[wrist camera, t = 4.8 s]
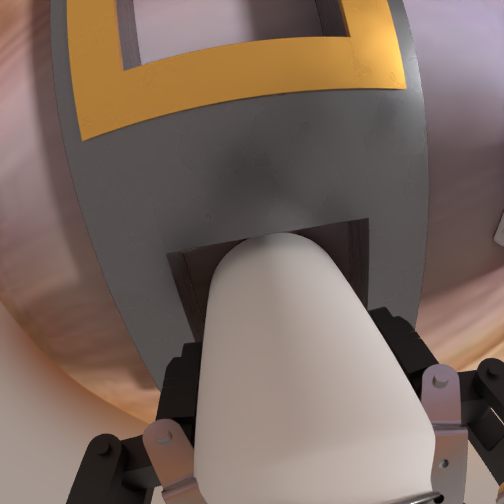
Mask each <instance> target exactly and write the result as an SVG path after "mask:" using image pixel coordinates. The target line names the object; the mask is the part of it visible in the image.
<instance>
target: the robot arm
mask: <svg viewBox="0 0 504 504" xmlns="http://www.w3.org/2000/svg"><path fill="white" fill-rule="evenodd" d="M367 312H368V314H369V315H370V317H371V319H372V320H373V322H374V323H375V325H376V327H377V328H378V330H379V331H380V333H381V335H382V336H383V338H384V340H385V341H386V343H387V345H388V346H389V348H390V350H391V351H392V353H393V355H394V356H395V358H396V360H397V361H398V363H399V365H400V367H401V368H402V370H403V372H404V374H405V375H406V377H407V379H408V381H409V382H410V384H411V386H412V388H413V390H414V391H415V393H416V395H417V397H418V399H419V401H420V403H421V404H422V406H423V408H424V410H425V412H426V414H427V416H428V418H429V420H430V422H431V424H432V427H433V431H434V434H435V451H434V458H433V464H432V470H431V486H432V490H433V492H435V491H438V492H439V493H440V495H441V497H440V498H436V499H432V500H428V501H425V502H422V503H419V504H465V503H463V500H464V492H465V483H466V471H467V454H468V440H469V441H470V443H471V444H472V445H473V447H474V448H475V450H476V451H477V452H478V454H479V455H480V457H481V458H482V460H483V461H484V463H485V465H486V466H487V468H488V469H489V471H490V472H491V474H492V475H493V477H494V478H495V480H496V481H497V483H498V484H499V486H500V488H499V490H498V497H497V499H496V504H504V425H503V424H502V422H501V421H500V420H499V419H498V417H497V416H496V415H495V414H494V412H493V411H492V410H491V408H492V409H493V410H494V411H495V413H496V414H497V415H498V416H499V418H500V419H501V420H502V421H503V423H504V362H502V361H501V360H499V359H496V358H487V359H485V360H483V361H482V362H481V363H480V364H479V366H478V368H477V370H473V371H465V372H456V371H455V370H454V369H453V368H452V367H450V366H448V365H444V364H439V363H438V361H437V360H436V358H435V357H434V356H433V354H432V353H431V351H430V350H429V349H428V347H427V346H426V344H425V343H424V342H423V340H422V339H420V336H419V335H418V333H417V332H415V329H414V328H413V327H412V325H411V324H410V323H409V322H408V321H407V320H405V319H404V318H402V317H400V316H395V317H393V316H392V314H391V313H390V312H389V310H388V309H387V308H386V307H380V308H376V309H372V310H368V311H367ZM202 348H203V341H199V342H191V343H184V345H183V349H182V355H181V357H173V359H172V360H171V361H170V363H169V364H168V366H167V367H166V371H165V376H164V380H163V385H162V386H163V388H162V390H161V395H160V400H159V405H158V410H157V416H156V420H155V421H154V422H152V423H151V424H150V425H148V427H147V428H146V429H145V431H144V433H143V434H142V435H140V436H137V437H133V438H129V439H125V440H121V441H120V440H119V439H118V438H117V437H116V436H114V435H112V434H101V435H99V436H96V437H95V438H93V439H92V440H91V442H90V443H89V445H88V447H87V450H86V452H85V454H84V457H83V459H82V462H81V465H80V468H79V470H78V472H77V475H76V478H75V481H74V483H73V486H72V488H71V491H70V494H69V496H68V500H67V502H66V504H151V500H152V496H153V491H154V487H157V486H161V485H162V487H163V491H162V497H163V499H164V501H165V503H166V504H207V502H206V501H205V499H204V497H203V496H202V494H201V492H200V490H199V487H198V482H197V480H196V478H194V445H195V429H196V415H197V402H198V390H199V379H200V368H201V358H202Z"/></svg>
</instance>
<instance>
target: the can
mask: <svg viewBox="0 0 504 504" xmlns="http://www.w3.org/2000/svg"><path fill="white" fill-rule="evenodd" d="M434 451H435V434H434V431H433V427H432V424H431V422H430V420H429V418H428V416H427V414H426V412H425V410H424V408H423V406H422V404H421V403H420V401H419V399H418V397H417V395H416V393H415V391H414V390H413V388H412V386H411V384H410V382H409V381H408V379H407V377H406V375H405V374H404V372H403V370H402V368H401V367H400V365H399V363H398V361H397V360H396V358H395V356H394V355H393V353H392V351H391V350H390V348H389V346H388V345H387V343H386V341H385V340H384V338H383V336H382V335H381V333H380V331H379V330H378V328H377V327H376V325H375V323H374V322H373V320H372V319H371V317H370V315H369V314H368V312H367V311H366V309H365V308H364V306H363V305H362V303H361V301H360V300H359V298H358V297H357V295H356V294H355V292H354V291H353V289H352V288H351V286H350V285H349V283H348V282H347V280H346V279H345V277H344V276H343V274H342V273H341V271H340V270H339V268H338V267H337V266H336V264H335V263H334V261H333V260H332V259H331V257H330V256H329V255H328V254H327V252H326V251H325V250H324V249H323V248H322V247H320V246H319V245H318V244H316V243H315V242H313V241H312V240H310V239H308V238H305V237H303V236H300V235H296V234H291V233H275V234H270V235H264V236H258V237H253V238H250V239H248V240H245V241H243V242H242V243H240V244H238V245H237V246H235V247H234V248H233V249H232V250H230V251H229V252H228V253H227V254H226V255H225V256H224V257H223V259H222V260H221V261H220V263H219V264H218V266H217V268H216V269H215V272H214V274H213V277H212V280H211V284H210V290H209V297H208V304H207V312H206V321H205V330H204V339H203V348H202V358H201V368H200V379H199V390H198V402H197V415H196V429H195V445H194V478H196V480H197V482H198V487H199V490H200V492H201V494H202V496H203V497H204V499H205V501H206V502H207V504H419V503H422V502H425V501H428V500H432V499H436V498H440V497H441V495H440V493H439V492H438V491H435V492H433V490H432V486H431V470H432V464H433V458H434Z"/></svg>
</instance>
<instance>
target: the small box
mask: <svg viewBox="0 0 504 504" xmlns="http://www.w3.org/2000/svg"><path fill="white" fill-rule="evenodd" d="M494 241H495V242H497V243H498V244H500V245H501V246H503V247H504V212H503V215H502V218H501V221H500V223H499V226H498V229H497V231H496V234H495V236H494Z"/></svg>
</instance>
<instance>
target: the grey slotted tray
mask: <svg viewBox="0 0 504 504" xmlns="http://www.w3.org/2000/svg"><path fill="white" fill-rule="evenodd" d="M315 1H316V5H317V9H318V13H319V17H320V21H321V25H322V29H323V34H324V37H297V38H281V39H270V40H260V41H252V42H244V43H237V44H231V45H224V46H219V47H213V48H208V49H203V50H198V51H194V52H189V53H185V54H181V55H177V56H173V57H169V58H165V59H162V60H158V61H155V62H151V63H148V64H145V65H141V60H140V54H139V47H138V40H137V32H136V24H135V15H134V6H133V0H51V1H50V32H51V53H52V66H53V76H54V85H55V93H56V100H57V107H58V113H59V119H60V125H61V130H62V136H63V141H64V145H65V150H66V155H67V159H68V163H69V168H70V172H71V176H72V180H73V183H74V187H75V191H76V194H77V198H78V201H79V205H80V208H81V211H82V215H83V218H84V221H85V224H86V227H87V230H88V233H89V236H90V239H91V242H92V245H93V248H94V251H95V253H96V256H97V259H98V262H99V264H100V267H101V269H102V272H103V275H104V277H105V280H106V282H107V285H108V287H109V289H110V292H111V294H112V296H113V299H114V301H115V303H116V306H117V308H118V310H119V312H120V315H121V317H122V319H123V321H124V323H125V325H126V328H127V330H128V332H129V334H130V336H131V338H132V340H133V342H134V344H135V346H136V348H137V350H138V352H139V354H140V356H141V358H142V360H143V362H144V363H145V365H146V367H147V369H148V371H149V373H150V374H151V376H152V378H153V380H154V382H155V383H156V385H157V387H158V389H159V390H160V392H161V390H162V388H163V386H162V385H163V380H164V376H165V371H166V367H167V366H168V364H169V363H170V361H171V360H172V359H173V357H181V355H182V349H183V345H184V343H191V342H199V341H203V339H204V330H205V326H204V323H203V319H202V316H201V313H200V310H199V307H198V304H197V300H196V297H195V294H194V291H193V287H192V284H191V281H190V277H189V274H188V270H187V267H186V263H185V260H184V256H183V253H182V250H186V249H192V248H197V247H203V246H208V245H214V244H219V243H225V242H230V241H236V240H241V239H247V238H253V237H258V236H264V235H270V234H275V233H281V232H287V231H293V230H298V229H304V228H310V227H316V226H322V225H328V224H334V223H340V222H346V221H348V227H349V255H350V286H351V288H352V289H353V291H354V292H355V294H356V295H357V297H358V298H359V300H360V301H361V303H362V305H363V306H364V308H365V309H366V311H368V310H372V309H376V308H380V307H386V308H387V309H388V310H389V312H390V313H391V314H392V316H393V317H395V316H400V317H402V318H404V319H405V320H407V321H408V322H409V323H410V324H411V325H412V327H413V328H414V329H415V324H416V319H417V314H418V308H419V302H420V296H421V289H422V282H423V274H424V265H425V255H426V244H427V230H428V209H429V162H428V141H427V128H426V117H425V107H424V99H423V92H422V85H421V78H420V72H419V67H418V61H417V56H416V51H415V47H414V42H413V38H412V34H411V29H410V26H409V22H408V18H407V14H406V11H405V7H404V4H403V1H402V0H315Z"/></svg>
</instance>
